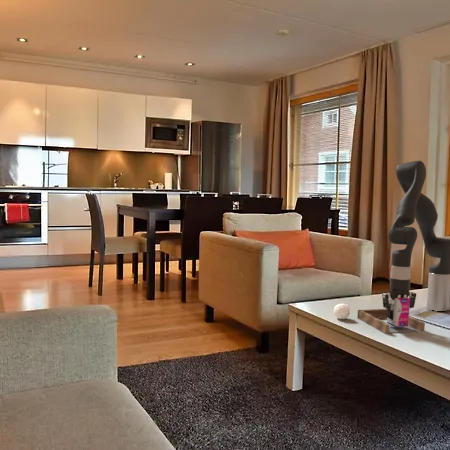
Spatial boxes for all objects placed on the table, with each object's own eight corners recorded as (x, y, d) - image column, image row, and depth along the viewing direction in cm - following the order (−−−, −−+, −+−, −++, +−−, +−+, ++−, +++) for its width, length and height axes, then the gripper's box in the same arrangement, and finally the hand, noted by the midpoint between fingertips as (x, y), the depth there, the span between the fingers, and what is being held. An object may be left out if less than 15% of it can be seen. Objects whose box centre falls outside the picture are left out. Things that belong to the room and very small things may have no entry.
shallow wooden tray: (357, 318, 201) (357, 310, 201) (392, 316, 205) (393, 308, 205) (385, 333, 180) (385, 325, 180) (424, 331, 184) (424, 323, 184)
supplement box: (396, 327, 183) (397, 298, 182) (386, 323, 189) (388, 295, 188) (408, 326, 185) (410, 298, 184) (399, 322, 191) (400, 294, 190)
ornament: (337, 315, 204) (348, 302, 203) (345, 325, 199) (356, 312, 197) (327, 309, 201) (339, 296, 200) (335, 319, 195) (347, 306, 194)
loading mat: (377, 326, 190) (377, 325, 190) (404, 324, 193) (404, 324, 193) (389, 333, 181) (389, 332, 181) (418, 331, 184) (418, 330, 184)
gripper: (410, 274, 191) (408, 315, 192) (378, 275, 187) (376, 316, 189) (422, 278, 183) (419, 320, 185) (389, 279, 180) (386, 322, 182)
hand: (397, 318), depth 187 cm, fingers closed on supplement box, 6 cm apart
